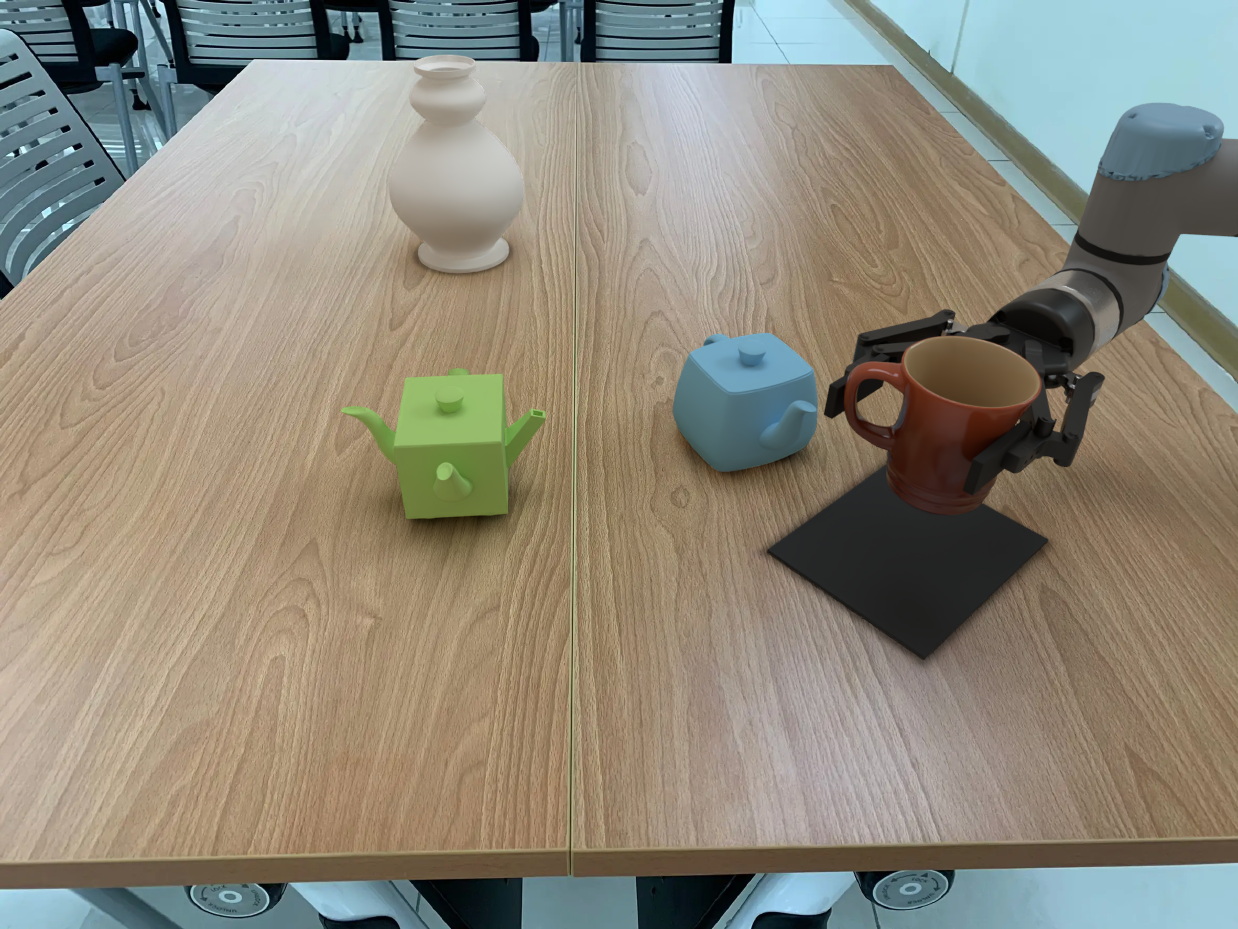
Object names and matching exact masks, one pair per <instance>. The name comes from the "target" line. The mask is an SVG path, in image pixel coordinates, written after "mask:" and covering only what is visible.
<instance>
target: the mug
mask: <svg viewBox="0 0 1238 929" xmlns="http://www.w3.org/2000/svg"><path fill="white" fill-rule="evenodd" d="M866 379H878V380H882V381H884V383H888V384H889V385H891V387H893V388H894V389H895V390H897V391H898V392H900V393H901V394H902V396H903V397H902V402H901V407H900V411H899V414H898V416H897V419H896V420H895V422H894V423H893V424H892V425H879V424H876V423H873V422H871V421H869V420H867V419H866V418H865V417H864V416H863V414H861V412H860V410H859V405H858V403H857V390H858V386H859V384H860V383H861V382H862V381H863V380H866ZM1041 386H1042V383H1041V378H1040V376H1039V374H1038V372H1037V370H1036V369H1035V368H1034V367H1033V366H1032V365H1031V364H1030V363H1029V362H1028V361H1027V360H1026V359H1024V358H1023V357H1022V356H1020V355H1019V354H1017V353H1015V352H1013V351H1012V350H1010V349H1007V348H1005V347H1003V346H1000V345H998V344H995V343H992V342H989V341H985V340H981V339H976V338H971V337H963V336H939V337H932V338H927V339H924V340H921V341H919V342H917V343H914V344H913V345H911V346H910V347H908V348H907V349H906V350H905V352H904V354H903V356H902V360H901V363H889V362H866V363H862V364H860V365H858V366H856V367H855V368H854V369H853V370H852V371H851V372H850V374H849V376H848V378H847V381H846V385H845V390H844V416H845V418H846V421H847V423H848V425H849V426H850V428H851V429H852V430H853V432H854V433H855V434H857V435H858V436H859V437H860V438H862V439H864V440H865V441H866V442H868V443H869V444H871V445H873V446H874V447H877V448H879V449H882V450H884V451H887V452H886V461H885V465H886V469H887V472H886V476H887V481H888V485H889V487H890V488H891V489H892V491H893V492H894V493H895V494H896V495H897V496H898V497H899V498H900V499H902V500H903V501H904V502H906V503H907V504H909V505H910V506H912V507H914V508H916V509H918V510H921V511H924V512H927V513H931V514H936V515H960V514H964V513H968V512H970V511H972V510H974V509H976V508H977V507H979V506H980V505H981V504H982V503H984V501H985V499H987V497H988V495H989V494H990V492H991V491H992V488H993V487H994V486H995V484H996V482H997V479H998V475H997V476H996V477H994V478H993V479H992V480H991V481H990V482H988V483H987V484H986V485H985V486H984V487H982V488H981V489H980V490H979V491H978V492H976V493H975V494H974V495H973V496H972V495H970V494H968V493H966V492H965V491H963V487H964V484H965V481H966V478H967V475H968V472H969V469H970V466H971V463H972V460H973V459H974V458H975V457H976V456H977V455H979V454H980V453H981V452H982V451H984V450H985V449H986V448H987V447H989V446H990V445H991V444H992V443H994V442H995V441H996V440H998V439H999V438H1000V437H1001V436H1003V435H1004V434H1005V433H1006V432H1008V431H1010V430H1011V429H1012V428H1013V427H1014V426H1015V425H1016V424H1018V423H1019V421H1020V420H1019V419H1020V418H1021V416H1022V415H1023V414H1024V412H1025V411H1026V410H1027V409H1028V408H1029V407H1030V405H1031V404H1032V403H1033V402H1034V401H1035V400H1036V398H1037V397H1038V395H1039V394H1040V391H1041Z"/></svg>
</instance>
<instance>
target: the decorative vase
mask: <svg viewBox="0 0 1238 929" xmlns="http://www.w3.org/2000/svg"><path fill="white" fill-rule="evenodd" d="M476 70H477V62H476V60H475V59H474V58H471V57H470V56H465V55H459V54H435V55H429V56H424V57H421V58H418V59H416V60H415V61H413V72H414V73H415V74H417V75H419V76H421V78H420V79H419V80H418V81H416V82H415V83H414V85H413V86H412V88H411V89H410V93H409V103H410V106H411V108H412V109H413V110H414V111H415V112H416V113H417V114H418V115H419V116H420V117H422V118H423V119H424V121H423V122H422V123H421V124H420V125H419V126H418V128H417V129H416V130H415V131H414V132H413V133H412V135H411V136H410V137H409V139H408V140H407V141H406V143H404V145H403V146H402V148H401V150H400V152H399V153H398V155H397V157H396V159H395V161H394V163H393V165H392V168H391V170H390V175H389V180H388V194H389V201H390V204H391V206H392V209H393V211H394V212H395V214H396V216H397V217H398V218H399V219H400V221H401V222H402V223H403V224H404V225H405V226H406V227H407V228H408V229H409V230H410V231H411V232H412V233H413V234H415V235H416V236H417V237H418V238H419V239H420V240H421V241H422V243H421V244H420V245H419V247H418V249H417V256H418V260H419V261H420V263H421V264H422V265H424V266H425V267H427V268H429V269H431V270H434V271H437V272H442V273H448V274H469V273H470V274H471V273H477V272H482V271H486V270H490V269H492V268H494V267H497V266H498V265H500V264H502V263H503V262H504V261H505V260H506V259H507V258H508V257H509V253H510V246H509V244H508V242H507V240H506V239H505V238H503V237H502V236H503V235H504V234H505V233H506V231H507V230H508V229H509V227H510V226H511V224H512V223H513V222H514V221H515V220H516V218H517V217H518V215H519V213H520V211H521V209H522V207H523V204H524V201H525V193H526V192H525V191H526V190H525V181H524V177H523V174H522V171H521V168H520V166H519V164H518V162H517V161H516V159H515V157H514V155H513V154H512V153H511V152H510V150H509V149H508V148H507V147H506V145H505V144H504V143H503V142H502V140H500V139H499V137H497V135H495V134H494V133H493V132H492V131H491V130H490V129H489V128H488V127H486V125H484V124H483V123H482V122H481V121H479V120H478V119H477V118H476V117H477V116H478V115H479V114H480V112H481V111H482V110H483V109H484V107H485V106H486V102H487V93H486V90H485V88H484V87H483V86H482V84H481V83H480V82H478V81H477V80H476V79H475V78H474V77H472V76H471V74H473V73H474V72H475V71H476Z"/></svg>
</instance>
